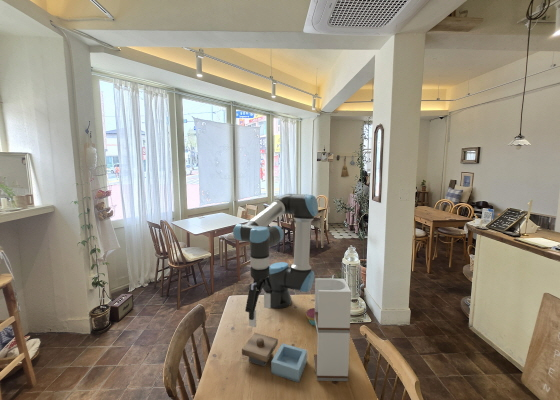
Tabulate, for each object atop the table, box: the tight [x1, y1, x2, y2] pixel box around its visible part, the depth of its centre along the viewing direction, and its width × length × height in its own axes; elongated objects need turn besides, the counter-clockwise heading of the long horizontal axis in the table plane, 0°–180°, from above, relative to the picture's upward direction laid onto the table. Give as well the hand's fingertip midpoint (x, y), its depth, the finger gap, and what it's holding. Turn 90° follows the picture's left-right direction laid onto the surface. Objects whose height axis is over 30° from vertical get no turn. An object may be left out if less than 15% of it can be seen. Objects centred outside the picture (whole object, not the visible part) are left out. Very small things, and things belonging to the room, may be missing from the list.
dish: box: [270, 342, 308, 384], centre depth 97 cm, size 11×11×5 cm
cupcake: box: [305, 307, 316, 326], centre depth 126 cm, size 9×8×12 cm
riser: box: [248, 357, 270, 367], centre depth 102 cm, size 7×7×4 cm
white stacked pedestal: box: [313, 277, 352, 382], centre depth 95 cm, size 11×11×35 cm
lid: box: [241, 332, 279, 363], centre depth 102 cm, size 11×11×4 cm
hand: (260, 316), depth 100 cm, fingers open, 13 cm apart
